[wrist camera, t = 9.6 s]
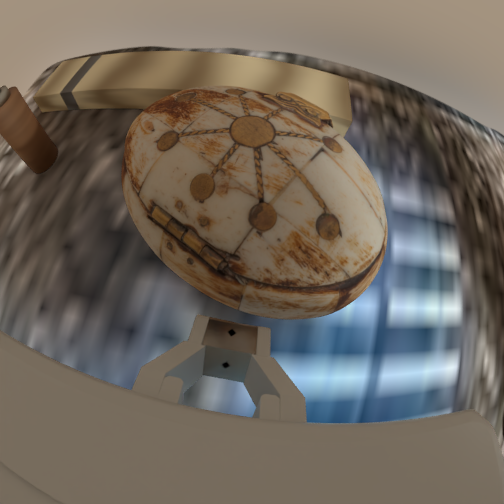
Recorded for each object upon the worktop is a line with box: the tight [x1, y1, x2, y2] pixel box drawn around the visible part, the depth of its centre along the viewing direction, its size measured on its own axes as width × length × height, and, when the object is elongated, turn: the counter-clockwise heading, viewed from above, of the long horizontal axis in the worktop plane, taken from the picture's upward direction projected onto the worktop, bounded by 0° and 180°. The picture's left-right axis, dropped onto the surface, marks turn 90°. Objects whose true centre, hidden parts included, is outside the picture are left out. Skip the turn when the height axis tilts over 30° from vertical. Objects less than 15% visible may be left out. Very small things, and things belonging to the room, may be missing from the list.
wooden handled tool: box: [0, 86, 58, 174], centre depth 13 cm, size 3×3×12 cm
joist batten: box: [33, 51, 352, 138], centre depth 20 cm, size 30×6×2 cm, turn 80°
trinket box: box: [122, 86, 387, 319], centre depth 15 cm, size 13×15×8 cm
